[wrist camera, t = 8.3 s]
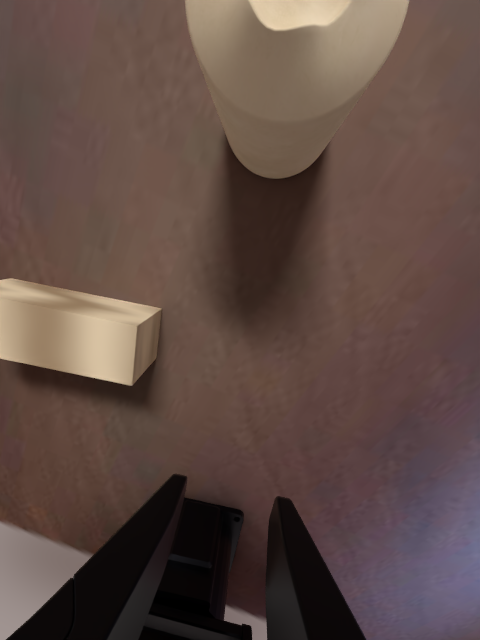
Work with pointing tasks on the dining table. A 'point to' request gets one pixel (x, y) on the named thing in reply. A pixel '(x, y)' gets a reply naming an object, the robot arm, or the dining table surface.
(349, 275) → the dining table surface
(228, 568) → the robot arm
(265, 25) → the candle
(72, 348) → the tan wooden block
